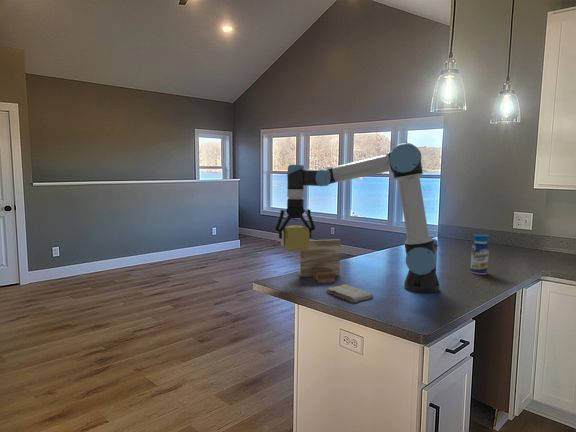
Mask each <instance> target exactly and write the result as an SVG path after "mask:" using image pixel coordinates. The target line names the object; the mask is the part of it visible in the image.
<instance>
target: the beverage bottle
mask: <svg viewBox="0 0 576 432" xmlns="http://www.w3.org/2000/svg"><path fill="white" fill-rule="evenodd" d="M488 241H489V235H488V234H482V233H475V234H474V235H473V242H474V243H472V246H471V251H470V254H471V255H470V256H471V257H470V269H469V270H470V273H471V274H475V275H487V274H488V266H489V255H490V252H489V250H490V247H489V245H488Z"/></svg>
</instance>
